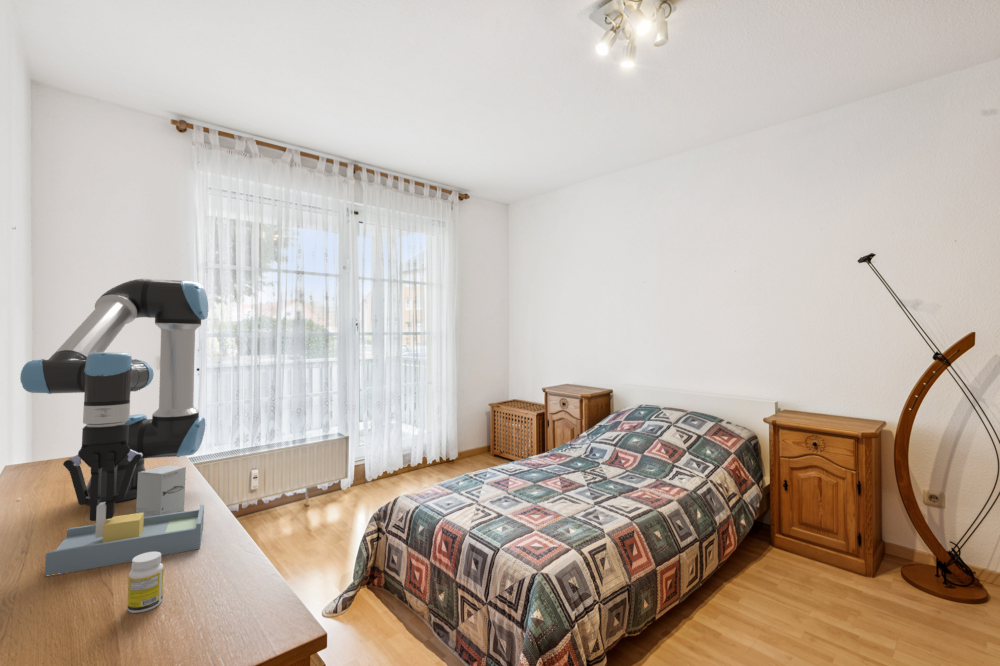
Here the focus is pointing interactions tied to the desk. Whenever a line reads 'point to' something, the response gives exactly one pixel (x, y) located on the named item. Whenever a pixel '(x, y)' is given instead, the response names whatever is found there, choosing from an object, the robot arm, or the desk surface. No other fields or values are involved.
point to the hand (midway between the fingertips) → (101, 534)
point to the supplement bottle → (145, 582)
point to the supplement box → (161, 490)
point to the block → (123, 527)
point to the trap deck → (127, 543)
